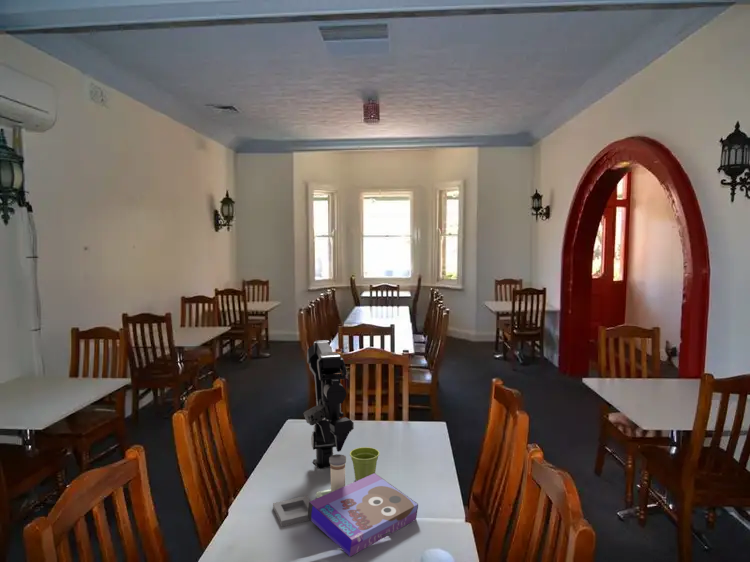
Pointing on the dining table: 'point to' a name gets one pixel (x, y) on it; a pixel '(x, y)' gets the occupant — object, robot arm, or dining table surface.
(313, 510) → the cereal box
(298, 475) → the dining table surface
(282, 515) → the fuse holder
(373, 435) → the dining table surface
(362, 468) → the plant pot
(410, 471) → the dining table surface
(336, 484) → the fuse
